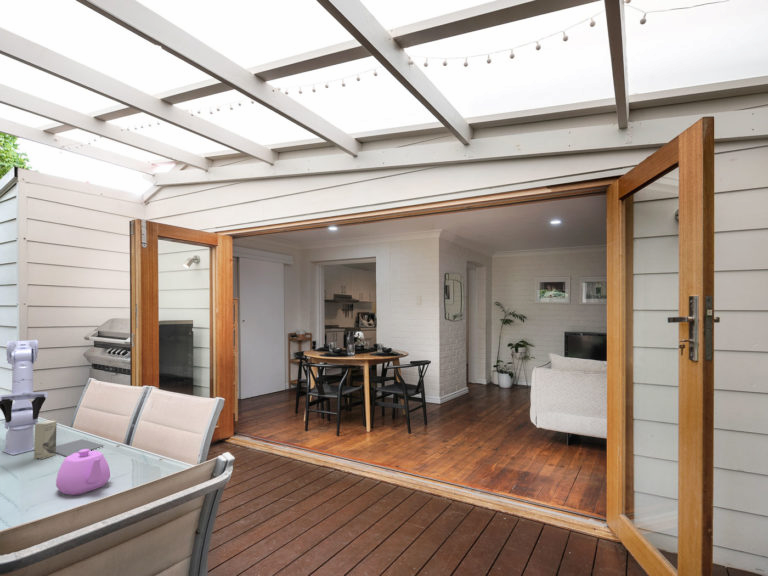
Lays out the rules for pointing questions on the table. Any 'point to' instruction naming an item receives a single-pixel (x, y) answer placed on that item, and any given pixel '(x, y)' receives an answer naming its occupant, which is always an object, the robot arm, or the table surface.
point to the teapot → (82, 472)
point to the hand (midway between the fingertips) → (22, 420)
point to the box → (45, 439)
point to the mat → (76, 447)
